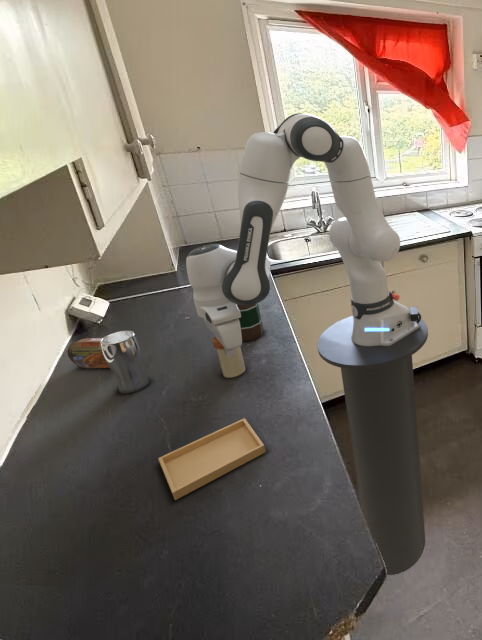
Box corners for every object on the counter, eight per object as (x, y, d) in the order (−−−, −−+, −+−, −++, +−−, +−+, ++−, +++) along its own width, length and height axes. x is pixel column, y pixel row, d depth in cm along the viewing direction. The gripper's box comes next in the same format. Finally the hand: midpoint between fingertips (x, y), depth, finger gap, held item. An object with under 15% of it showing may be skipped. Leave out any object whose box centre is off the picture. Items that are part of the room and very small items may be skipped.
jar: (241, 363, 122) (234, 332, 119) (248, 371, 119) (240, 339, 115) (220, 372, 119) (211, 339, 115) (226, 380, 115) (217, 346, 111)
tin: (71, 368, 119) (61, 342, 116) (82, 362, 122) (72, 336, 119) (127, 368, 119) (118, 342, 116) (136, 361, 122) (127, 336, 119)
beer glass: (115, 385, 112) (97, 336, 107) (149, 374, 117) (133, 327, 111) (118, 398, 107) (99, 347, 102) (153, 386, 112) (136, 337, 107)
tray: (246, 424, 100) (244, 417, 99) (265, 452, 92) (264, 445, 92) (160, 465, 88) (158, 458, 88) (175, 500, 81) (172, 492, 80)
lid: (211, 342, 115) (209, 336, 115) (236, 334, 119) (235, 328, 119) (217, 351, 111) (215, 345, 111) (243, 343, 116) (241, 337, 115)
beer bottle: (246, 328, 141) (231, 261, 132) (269, 329, 140) (255, 262, 132) (230, 341, 133) (213, 271, 125) (255, 342, 133) (239, 272, 125)
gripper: (191, 296, 115) (202, 340, 120) (213, 322, 103) (224, 370, 107) (218, 289, 120) (227, 332, 124) (242, 313, 107) (251, 360, 112)
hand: (226, 350), depth 116 cm, fingers closed on jar, 5 cm apart
